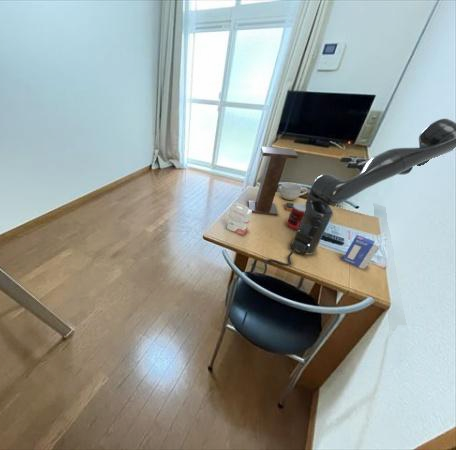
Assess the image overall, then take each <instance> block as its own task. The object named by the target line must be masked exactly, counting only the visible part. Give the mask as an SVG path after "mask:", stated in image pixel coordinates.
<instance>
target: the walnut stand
mask: <svg viewBox="0 0 456 450" xmlns="http://www.w3.org/2000/svg"><path fill="white" fill-rule="evenodd" d="M260 152H261V155H262V157H266V162H265V166H264V169H263V173H262V176H261V180H260V184H259V188H258V190H257V195H256V199H255V200H249V199H248V201H247V204H248V208H249V209H250V210H252V213H254V214H261V215H268V216H276V217H278V215H279V214H278V211H277V208H276V204H275V202H274V199H275V196H276V194H277V190H278V187H279V184H280V181H281V178H282V175H283V171H284V168H285V164H286V162H287V159H294V160H295V159H298V157H299V155H298V153H297V152H296V151H295V149H294V148H284V147H283V148H282V147H273V146H272V147H271V146H260ZM252 213H251V214H252Z"/></svg>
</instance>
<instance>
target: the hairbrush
mask: <svg viewBox="0 0 456 450" xmlns="http://www.w3.org/2000/svg"><path fill="white" fill-rule="evenodd" d="M294 204H295V203H293V202H285V203H284V208H285V211H291V210H292V207H293V205H294Z"/></svg>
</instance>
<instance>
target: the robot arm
mask: <svg viewBox="0 0 456 450" xmlns="http://www.w3.org/2000/svg"><path fill="white" fill-rule="evenodd" d="M418 145H419V147H395V148H390V149H388V150H387V149H386V150H385V151H383V152H380V153H378V154H377V155H374V156H372V157H370V158H369V159H368V158H365V157H364V156H357V155H356V156H355V155H349V157H346V156H341V157H340V159H339V162H340V163H347V164H346V168H347V169H354V170H358V171H359V172H360V173H359V174H358V175H355V176H354V177H352V178H349V179H347V180H342V179H341V178H339V177H336V176H335V175H333V174H331V173H324V174H321V175H320V176H318V177H317V178H315V180H314V181H313V183H312V185H311V187H310V190H309V193H308V195H307V199H306V201H305V204H306V210H305V212H304V215H303V217H302V220H301V222H300V224H299V227H298V229H297V230H296V232H295V234H294V236H293V239H292V241H291V243H290V250H291V251H290V253H289V254H288V256H287V261H288V262H287V263H285V262H282V261H279V260H276V259H273V258H269V259H267V260H265V261H264V270H263V273H262V276H265V275H266V273H267V270H268V262H273V263H276V264H278V265H282V266H290V265H291V264H292V261H291V256H292V255H293V254H294V252H296V253H298V254H299V255H301V256H303V257H306V256H312V255H314V254H315V253H316V250H317V248H318V246H319V244H320V242H321V240H322V237H324V233H325V232H326V230H327V227H328V226H329V224H330V221H331V219H332V218H333V215H334V211H333V209H332V207H331V206H336V205H339V204H342V203H343V202H345V201H347V200H349V199H351V198H352V197H355V196H356V195H358V194H360V193H361V192H363V191H365V190H367V189H369V188H371V187H373V186H375V185H377V184H379V183H381V182H383V181H385V180H388V179H391V178H393V177H395V176H397V175H400V176H401V175H402V176H403V175H404V176H405V175H408V174H410V172H411V171H413V166H415V165H417V166H421V165H424V164H425V163H427V162H428V161H429V160H430V159H432V158H435V157H438V156H440V155H443V154H444V155H445V154H448V153H450V152H453V151H454V150H453V149H454V148H455V147H456V122H455V121H453V120H452V119H448V118H440V119H437V120H435V121H434V122H432V123H430V124H429V125H427V126H426V127H425V128H424V129H423V130H422V131H421V132H420V134H419V136H418ZM248 314H249V312H248V309H246V310H245V314H244V316H243V320H242V323H241V325H242V326H243V327H244V325H245V322H246V319H247V316H248ZM240 337H241V334H239V333H238V335H237V337H236V339H237V340H239V339H240Z"/></svg>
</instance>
